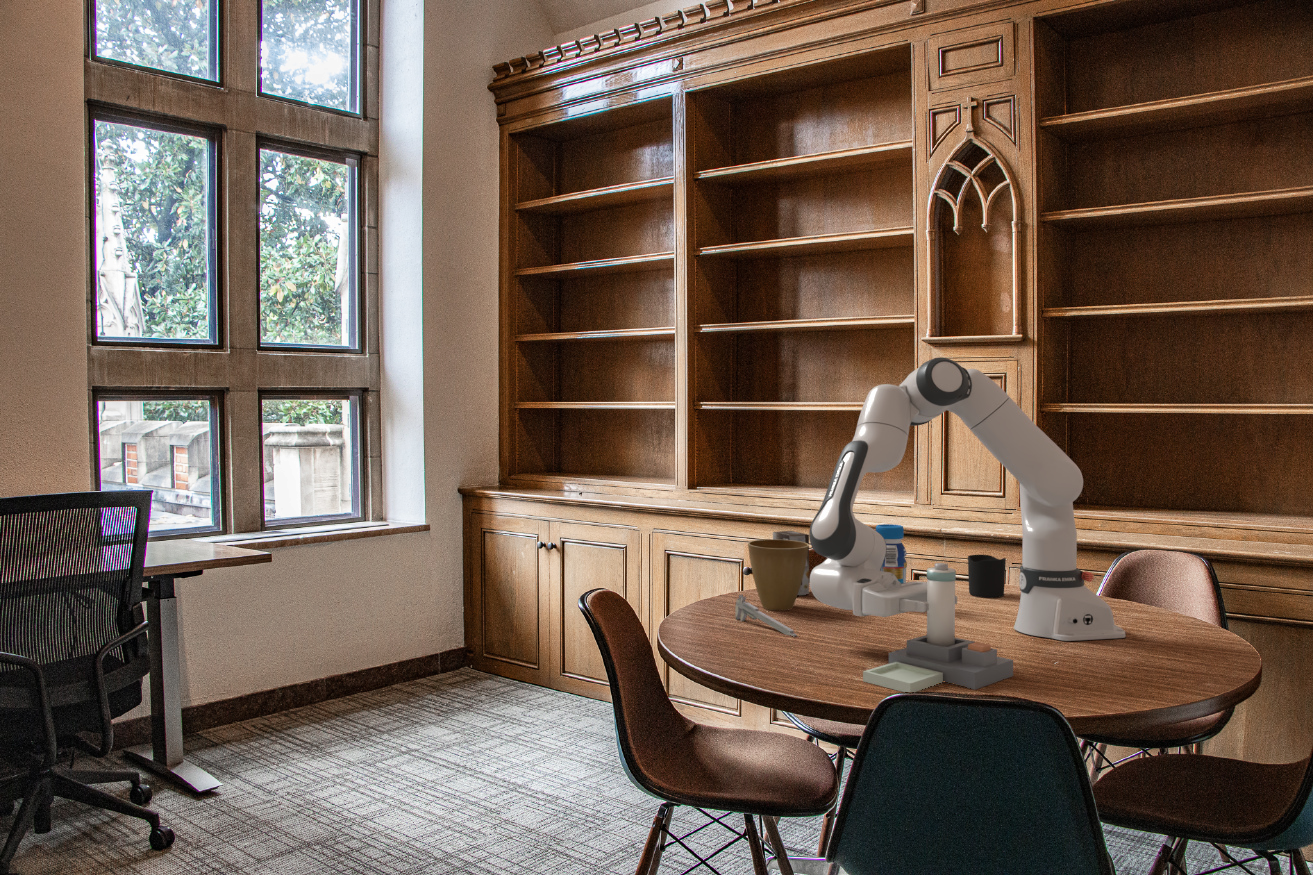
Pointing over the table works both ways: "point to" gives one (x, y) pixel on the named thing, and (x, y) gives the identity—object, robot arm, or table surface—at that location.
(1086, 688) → the table surface
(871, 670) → the tray
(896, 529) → the beverage bottle
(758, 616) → the caliper
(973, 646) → the plunger
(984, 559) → the pen holder
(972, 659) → the housing
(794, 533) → the coffee box
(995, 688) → the table surface
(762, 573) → the plant pot
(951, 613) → the cartridge
